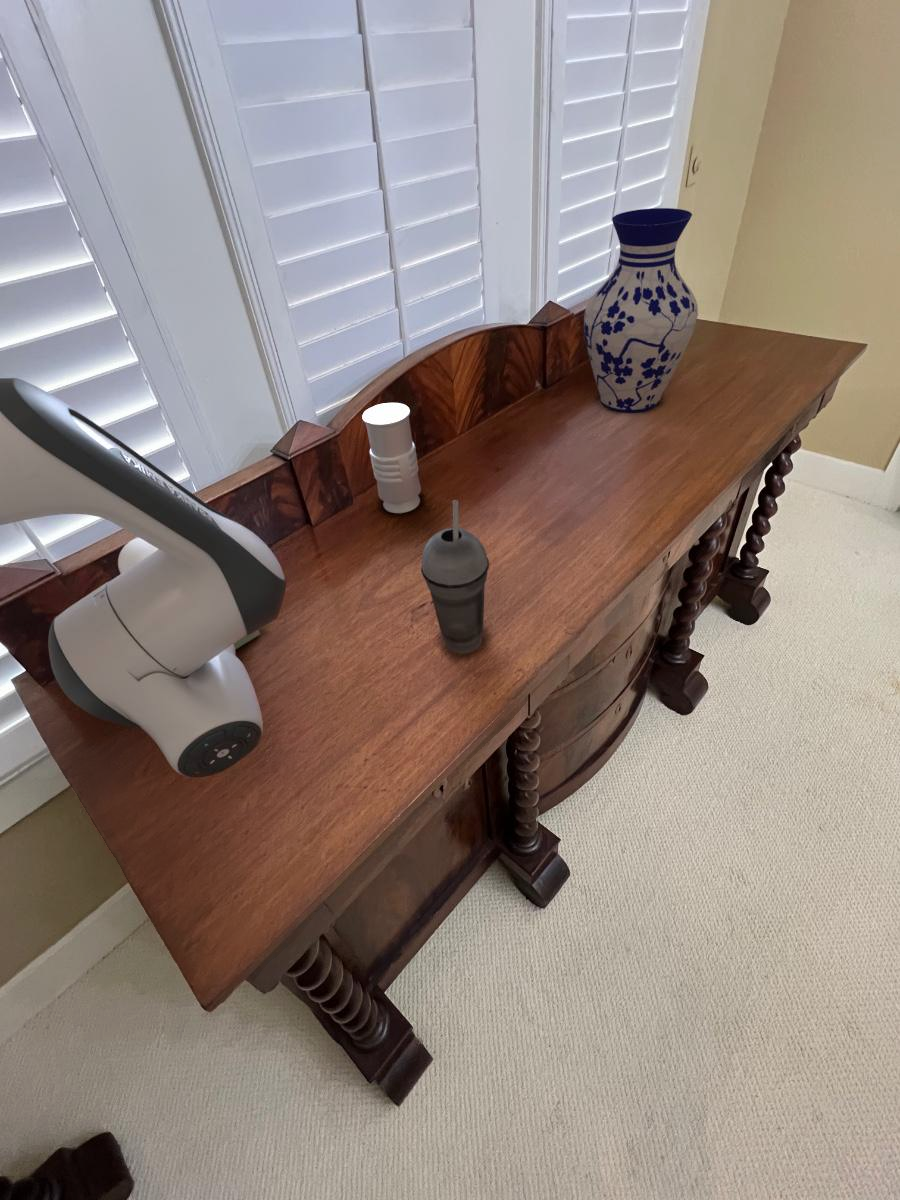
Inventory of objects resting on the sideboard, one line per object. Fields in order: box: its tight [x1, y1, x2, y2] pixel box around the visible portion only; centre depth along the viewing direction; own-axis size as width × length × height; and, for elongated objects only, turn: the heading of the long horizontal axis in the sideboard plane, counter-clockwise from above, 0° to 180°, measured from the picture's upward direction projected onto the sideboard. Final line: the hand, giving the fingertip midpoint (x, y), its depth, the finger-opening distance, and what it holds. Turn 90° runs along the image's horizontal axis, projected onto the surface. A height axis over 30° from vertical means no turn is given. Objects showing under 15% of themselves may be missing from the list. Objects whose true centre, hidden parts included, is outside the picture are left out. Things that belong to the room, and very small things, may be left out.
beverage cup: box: [420, 500, 490, 655], centre depth 63 cm, size 7×7×20 cm
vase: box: [583, 207, 699, 414], centre depth 102 cm, size 19×19×30 cm
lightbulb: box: [117, 536, 158, 575], centre depth 68 cm, size 6×6×11 cm
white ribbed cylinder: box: [362, 402, 422, 514], centre depth 88 cm, size 7×7×15 cm
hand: (155, 572), depth 68 cm, fingers closed on lightbulb, 6 cm apart
